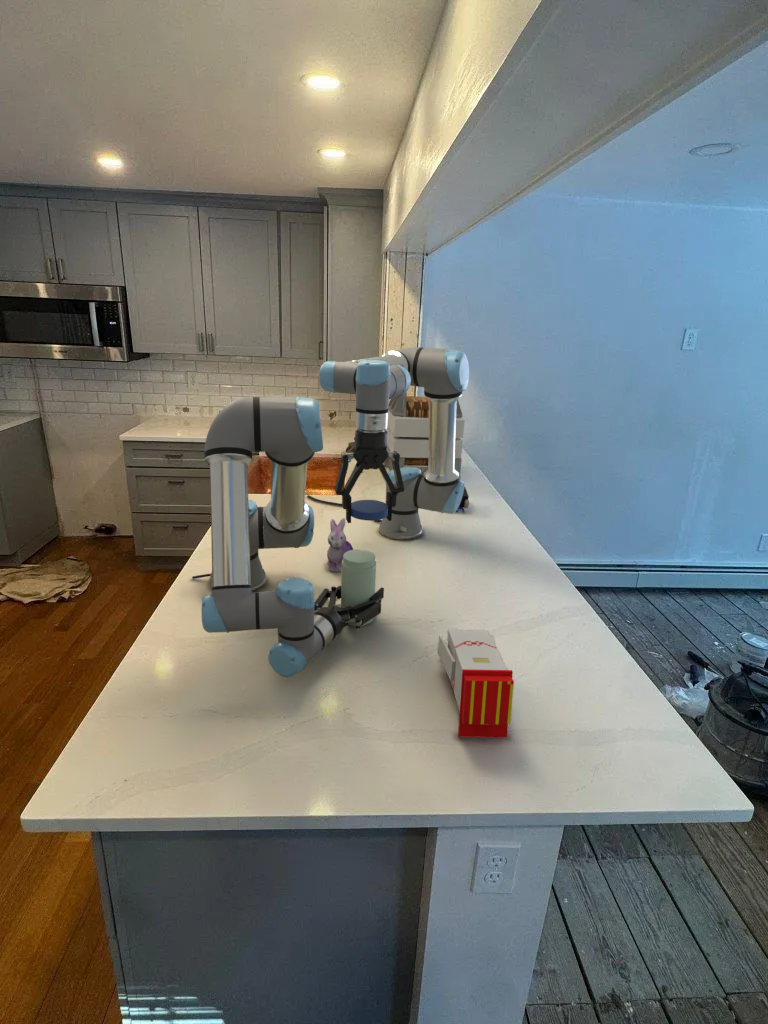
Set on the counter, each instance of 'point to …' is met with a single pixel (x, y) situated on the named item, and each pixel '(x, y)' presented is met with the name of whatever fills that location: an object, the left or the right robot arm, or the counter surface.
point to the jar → (357, 578)
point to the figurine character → (464, 501)
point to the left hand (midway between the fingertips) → (366, 588)
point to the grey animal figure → (350, 447)
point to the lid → (369, 510)
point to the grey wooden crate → (415, 431)
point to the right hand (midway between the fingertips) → (368, 519)
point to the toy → (478, 682)
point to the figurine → (337, 545)
